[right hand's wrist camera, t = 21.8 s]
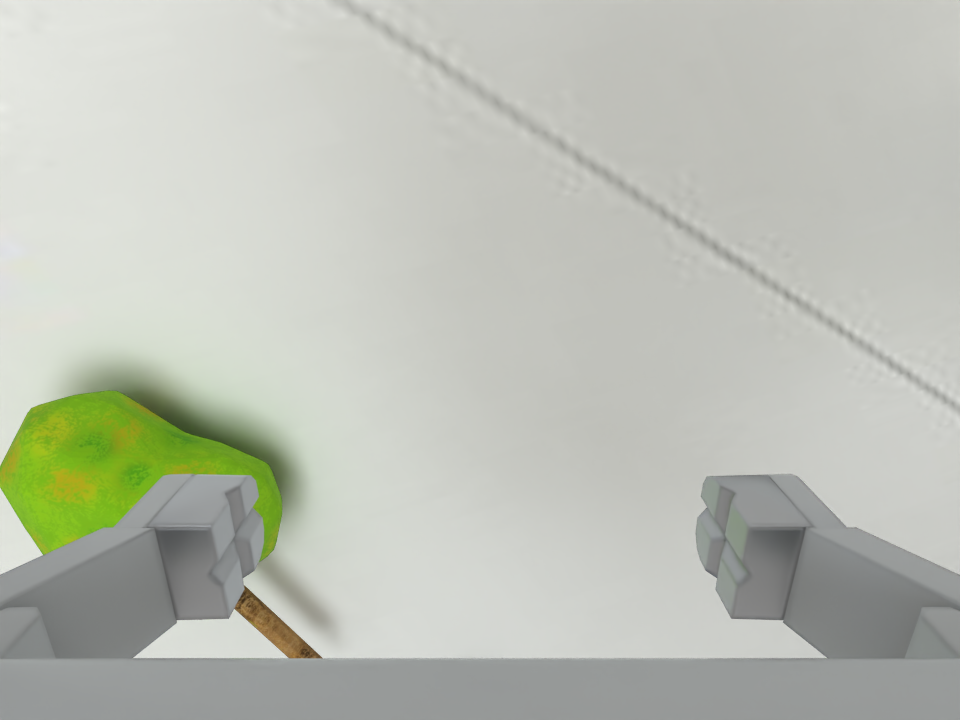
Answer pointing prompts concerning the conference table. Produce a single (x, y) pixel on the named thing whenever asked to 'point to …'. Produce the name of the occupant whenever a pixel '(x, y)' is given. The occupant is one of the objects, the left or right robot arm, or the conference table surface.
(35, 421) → the decorative tree
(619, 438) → the conference table surface
